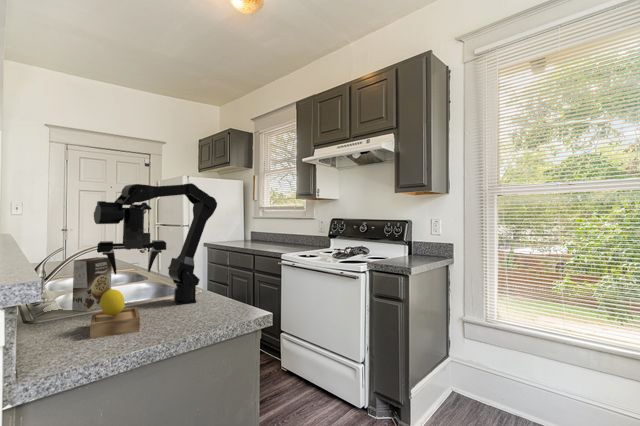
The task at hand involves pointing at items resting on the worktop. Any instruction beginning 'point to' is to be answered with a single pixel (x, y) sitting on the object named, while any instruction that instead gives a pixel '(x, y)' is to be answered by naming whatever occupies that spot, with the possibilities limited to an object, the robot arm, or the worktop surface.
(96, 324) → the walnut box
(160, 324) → the worktop surface
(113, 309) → the lemon
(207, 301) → the worktop surface
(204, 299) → the worktop surface
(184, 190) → the robot arm
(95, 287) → the cookie box
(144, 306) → the worktop surface
